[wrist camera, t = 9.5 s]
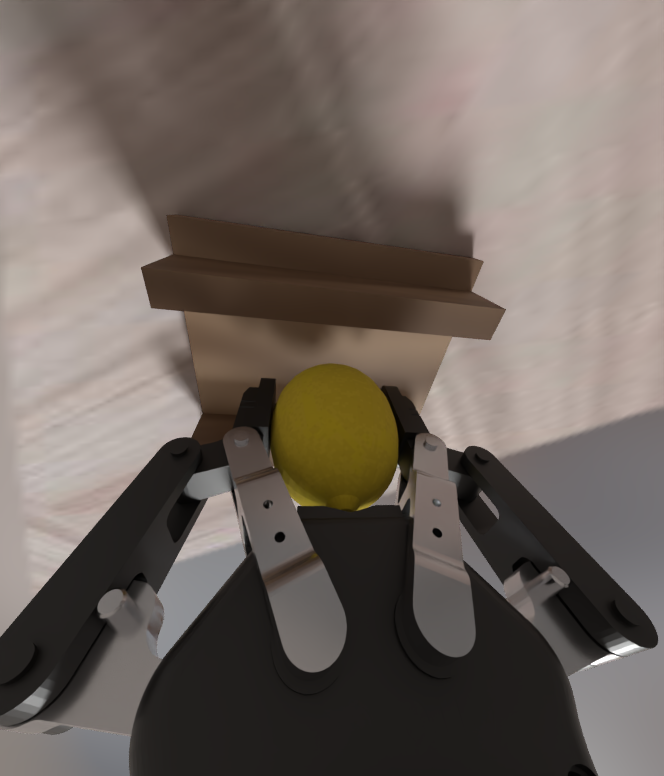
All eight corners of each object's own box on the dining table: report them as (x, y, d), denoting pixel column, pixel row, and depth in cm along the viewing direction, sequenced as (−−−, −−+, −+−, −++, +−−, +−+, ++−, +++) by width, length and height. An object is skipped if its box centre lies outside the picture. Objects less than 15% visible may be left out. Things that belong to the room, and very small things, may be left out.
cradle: (175, 214, 12) (128, 218, 9) (473, 258, 14) (524, 274, 11) (212, 435, 20) (194, 480, 17) (401, 440, 22) (418, 481, 19)
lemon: (393, 367, 15) (463, 494, 8) (337, 429, 17) (358, 565, 11) (311, 316, 13) (320, 432, 6) (259, 394, 15) (228, 538, 9)
